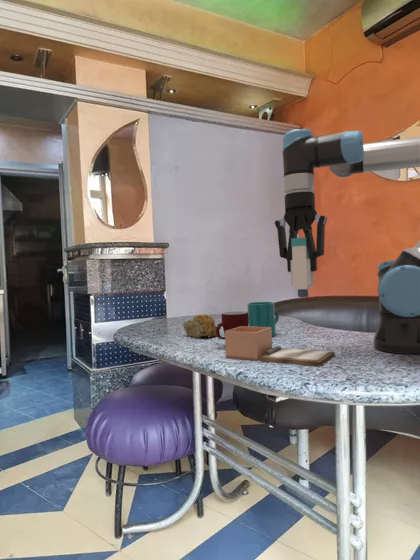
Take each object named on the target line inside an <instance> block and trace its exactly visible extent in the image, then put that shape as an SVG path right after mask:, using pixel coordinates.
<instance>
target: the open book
mask: <svg viewBox="0 0 420 560" xmlns="http://www.w3.org/2000/svg"><path fill="white" fill-rule="evenodd" d="M333 357H335V351H329V350H328V351H326V350H314V349H312V350H310V349H298V348H286V347H285V348H284V347H283V348H282V347H281V346H280V345H279V346H278V345H277V346H274V347H272V349H269V350H267V351H266V355H264V356H261V357H260V360H259V361H260V362H264V361H268V362H267V363H275V362H278V363H279V364H286V363H291V364H290V365H298V364H301V365H300V366H309V365H313V366H312V367H321V366H323V363H324V364H325V363H326V362H328V361H329V360H331V358H333ZM320 365H321V366H320Z"/></svg>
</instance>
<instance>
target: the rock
mask: <svg viewBox="0 0 420 560" xmlns="http://www.w3.org/2000/svg"><path fill="white" fill-rule="evenodd" d="M215 322H216V321H215V318H213V316H210V315H208V314H195V315H194V316H193V318H191V319H188V320H187V321H185V322H183V323H182V326H183V329H184V331H185V333H186V336H187V337H189V336H192V337H193V338H195V337H197V338H196V339H200V338H202V337H208V338H211V337H213V338H214V337H215V338H216V337H217V335H216V327H217V325H216V323H215Z"/></svg>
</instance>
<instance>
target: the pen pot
mask: <svg viewBox="0 0 420 560" xmlns="http://www.w3.org/2000/svg"><path fill="white" fill-rule="evenodd" d="M224 337H225V340H224V344H225V345H224V346H225V358H226V359H235V360H236V359H238V360H248V359H249V360H248V361H260V360H259V359H260V357H261V356H264V355H266V351H267V350H269V349H272V348H273V337H272V330H271V327H250V326H240V327H237V328H234V329H230V330H227V331H225V335H224Z"/></svg>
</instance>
